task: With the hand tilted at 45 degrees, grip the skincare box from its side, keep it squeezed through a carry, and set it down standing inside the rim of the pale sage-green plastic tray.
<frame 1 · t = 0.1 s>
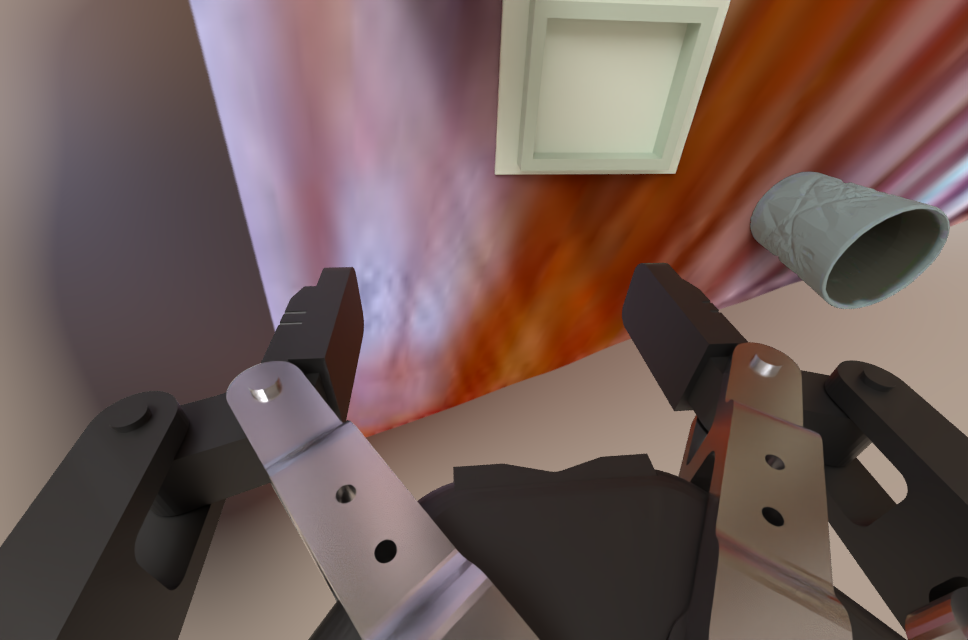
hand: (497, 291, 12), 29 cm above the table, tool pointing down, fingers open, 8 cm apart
grey plant pot: (787, 207, 45), on the table
tray: (600, 90, 35), on the table
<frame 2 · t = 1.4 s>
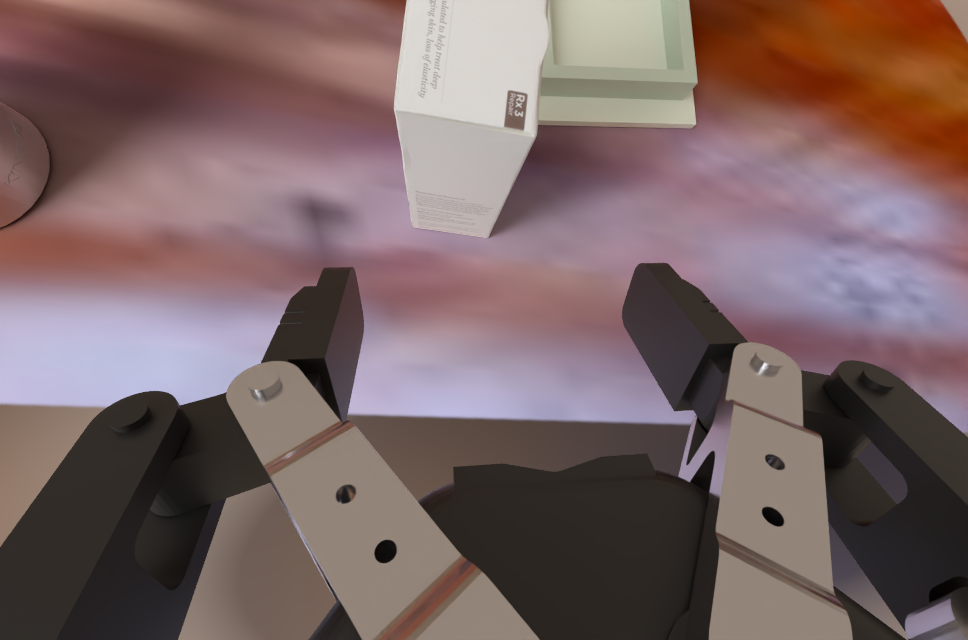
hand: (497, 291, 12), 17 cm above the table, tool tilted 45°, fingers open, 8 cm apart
tray: (600, 22, 33), on the table
skincare box: (458, 187, 30), on the table
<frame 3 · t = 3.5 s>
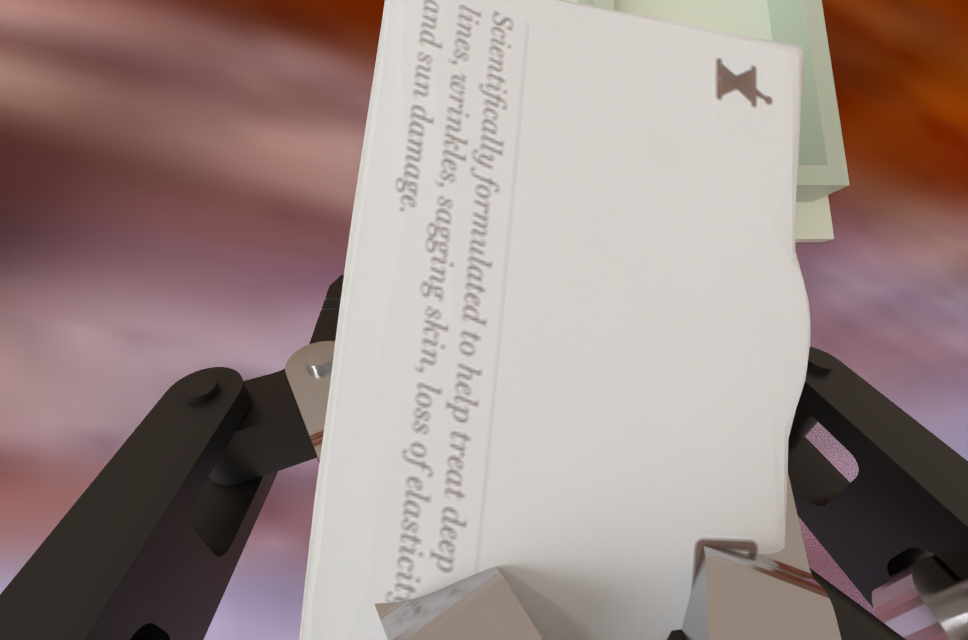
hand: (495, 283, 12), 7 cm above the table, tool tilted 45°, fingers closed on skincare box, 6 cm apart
tray: (684, 83, 22), on the table
skincare box: (475, 349, 19), on the table, touching gripper
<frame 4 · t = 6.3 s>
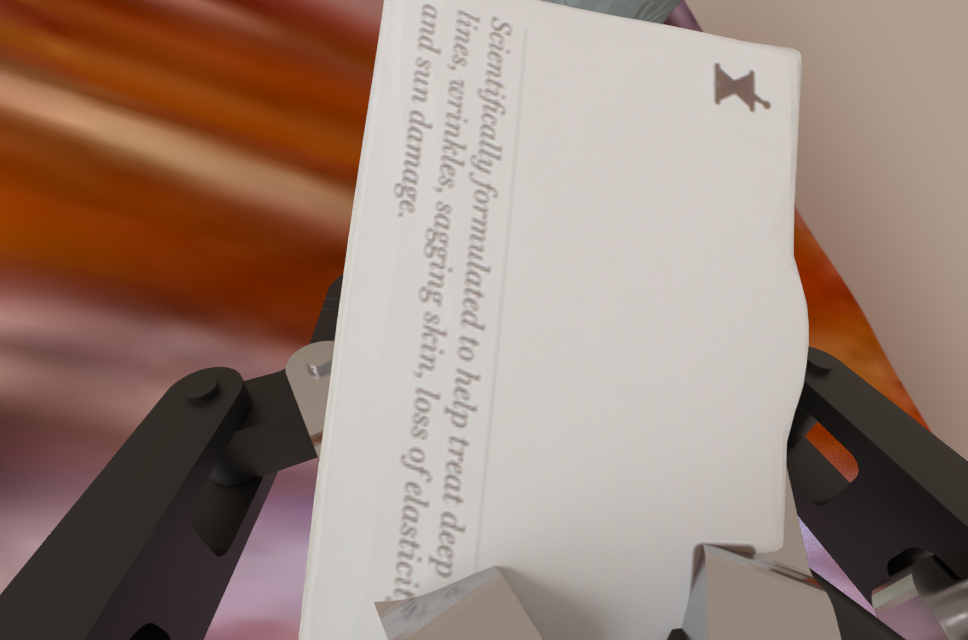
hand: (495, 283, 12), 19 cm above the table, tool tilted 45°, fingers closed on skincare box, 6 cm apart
grey plant pot: (578, 54, 35), on the table
skincare box: (475, 350, 19), point 12 cm above the table, touching gripper
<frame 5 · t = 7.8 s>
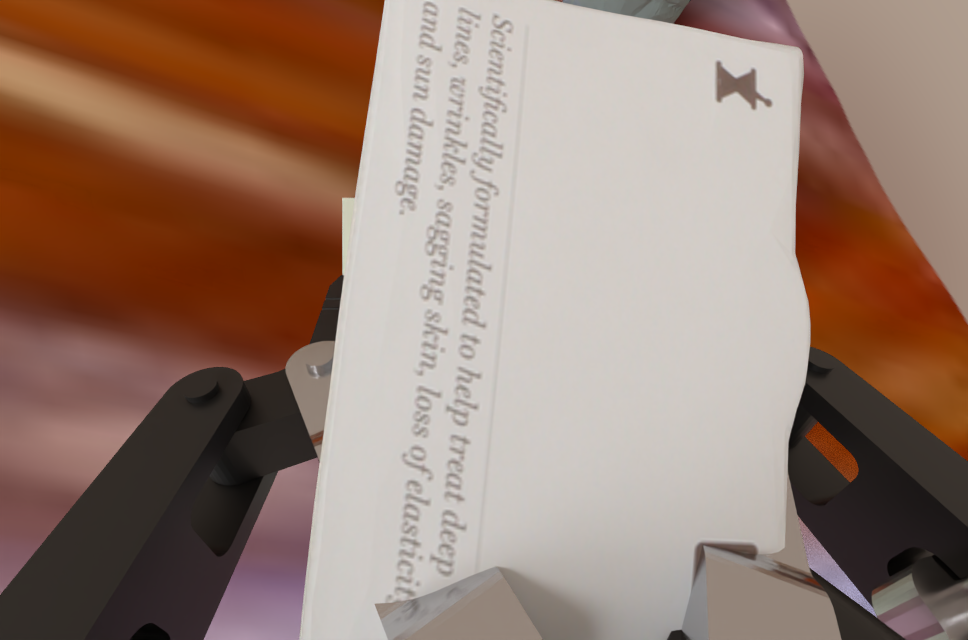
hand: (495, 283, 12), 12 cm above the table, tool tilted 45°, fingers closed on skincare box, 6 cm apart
tray: (468, 349, 24), on the table
skincare box: (475, 350, 19), point 4 cm above the table, touching gripper
when the fingers open (9 cm above the table, at t = 8.9 s): skincare box drops 1 cm, resting on tray.
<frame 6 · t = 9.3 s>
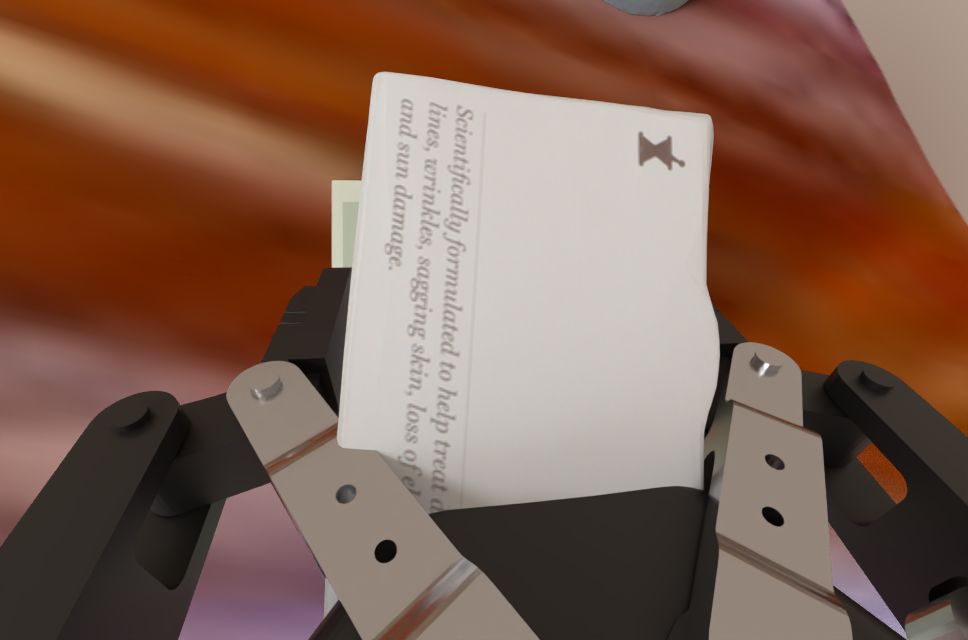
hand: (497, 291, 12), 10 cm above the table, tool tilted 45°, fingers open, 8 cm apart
tray: (473, 351, 21), on the table
skincare box: (468, 355, 21), resting on tray
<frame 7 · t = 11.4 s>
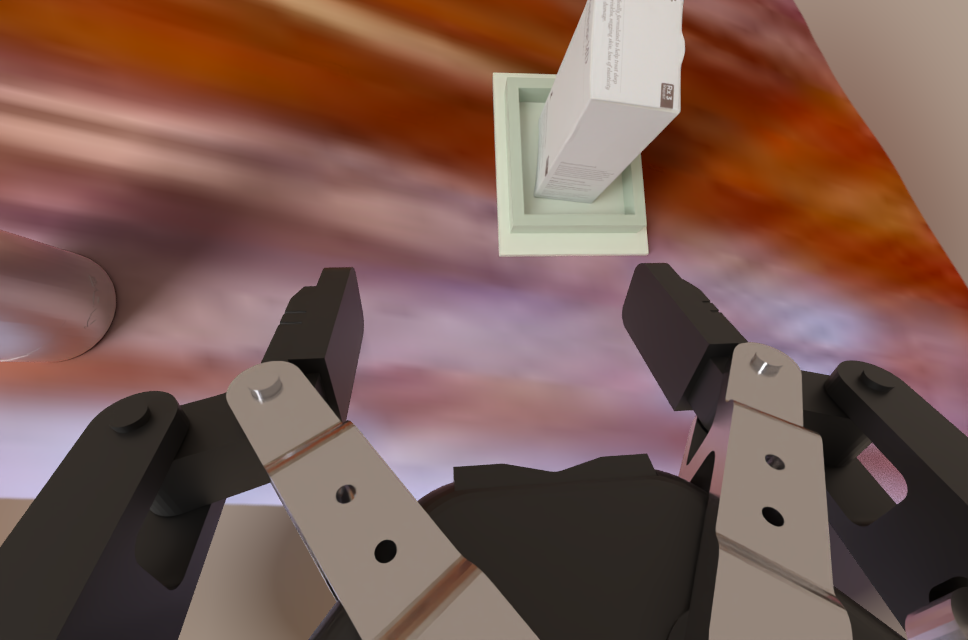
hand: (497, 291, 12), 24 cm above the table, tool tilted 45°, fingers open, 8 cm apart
tray: (567, 165, 39), on the table
skincare box: (565, 165, 38), resting on tray
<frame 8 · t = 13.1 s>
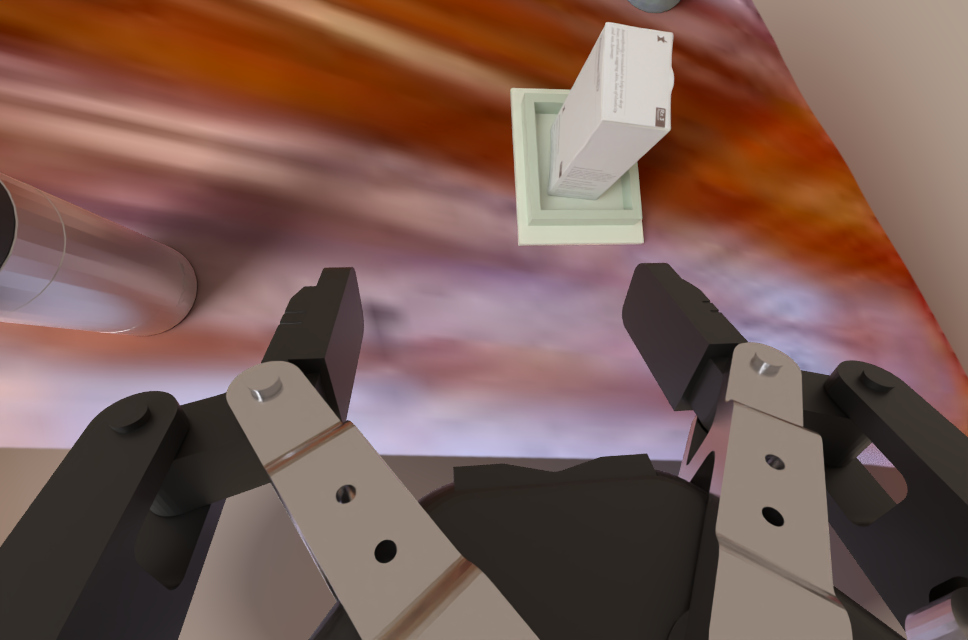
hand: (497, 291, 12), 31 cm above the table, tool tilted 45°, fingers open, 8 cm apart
tray: (575, 167, 46), on the table
skincare box: (573, 167, 45), resting on tray
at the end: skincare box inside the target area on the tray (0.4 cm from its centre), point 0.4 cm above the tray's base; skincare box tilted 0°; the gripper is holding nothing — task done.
